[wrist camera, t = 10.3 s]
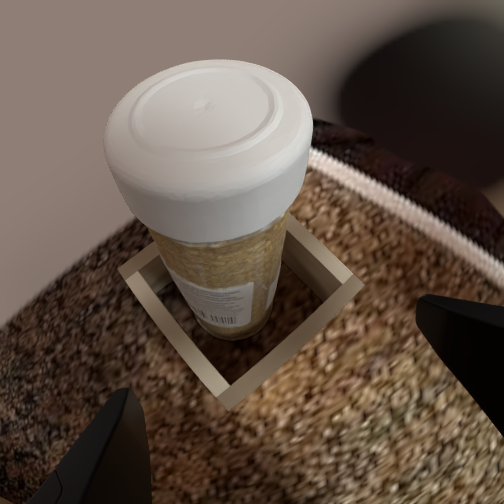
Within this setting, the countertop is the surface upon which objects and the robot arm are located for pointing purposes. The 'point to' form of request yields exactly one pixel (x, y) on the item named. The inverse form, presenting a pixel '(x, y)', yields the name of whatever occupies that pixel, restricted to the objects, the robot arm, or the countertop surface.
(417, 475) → the countertop surface
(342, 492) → the countertop surface
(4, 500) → the bread roll
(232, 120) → the sprinkles bottle
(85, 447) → the robot arm
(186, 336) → the guard collar
